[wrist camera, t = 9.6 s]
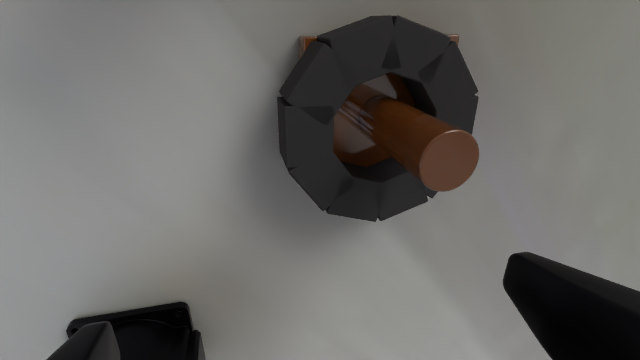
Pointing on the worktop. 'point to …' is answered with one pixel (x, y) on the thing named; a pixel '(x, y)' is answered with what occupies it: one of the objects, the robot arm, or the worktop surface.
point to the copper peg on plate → (400, 132)
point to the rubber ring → (335, 86)
